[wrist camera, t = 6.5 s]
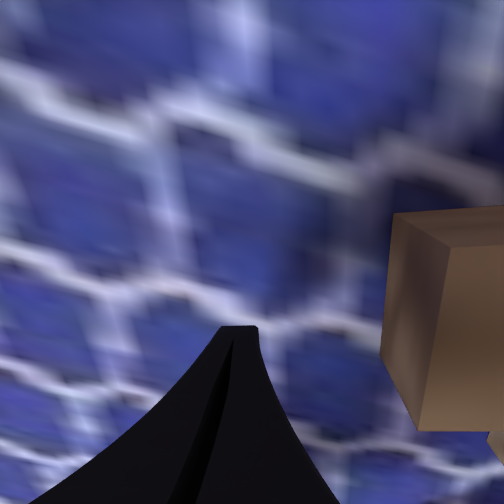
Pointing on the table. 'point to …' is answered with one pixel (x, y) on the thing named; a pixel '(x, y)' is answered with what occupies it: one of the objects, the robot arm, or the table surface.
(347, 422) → the table surface
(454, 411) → the walnut block
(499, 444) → the board
